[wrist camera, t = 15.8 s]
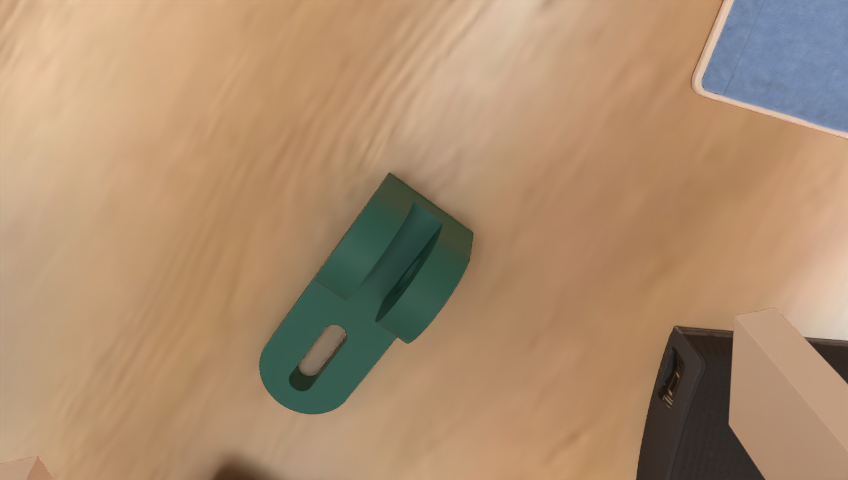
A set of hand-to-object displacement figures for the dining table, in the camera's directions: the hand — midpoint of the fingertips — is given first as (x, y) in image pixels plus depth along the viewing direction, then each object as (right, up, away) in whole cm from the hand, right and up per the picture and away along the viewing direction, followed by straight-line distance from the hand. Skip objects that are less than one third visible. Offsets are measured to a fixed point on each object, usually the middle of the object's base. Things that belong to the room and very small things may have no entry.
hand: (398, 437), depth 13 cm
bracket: (-4, 0, +35) cm, 35 cm away
